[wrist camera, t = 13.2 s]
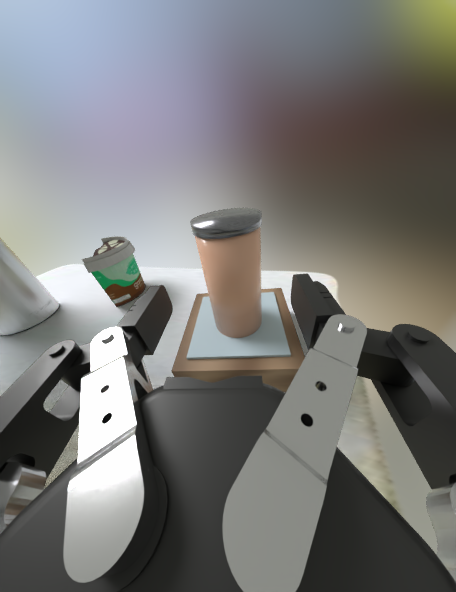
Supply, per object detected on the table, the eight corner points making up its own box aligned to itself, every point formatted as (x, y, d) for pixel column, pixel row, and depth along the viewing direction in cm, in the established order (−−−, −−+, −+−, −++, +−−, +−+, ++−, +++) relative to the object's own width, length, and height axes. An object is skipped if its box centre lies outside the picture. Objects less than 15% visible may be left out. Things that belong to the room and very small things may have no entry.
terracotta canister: (212, 340, 18) (182, 230, 12) (217, 306, 22) (197, 212, 16) (265, 337, 17) (266, 220, 11) (260, 303, 22) (257, 205, 15)
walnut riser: (183, 392, 18) (170, 369, 16) (202, 314, 28) (196, 292, 25) (302, 391, 17) (309, 366, 14) (279, 309, 27) (281, 286, 24)
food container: (149, 301, 33) (124, 250, 27) (114, 311, 32) (80, 260, 26) (151, 273, 42) (133, 231, 37) (125, 280, 41) (101, 238, 35)
